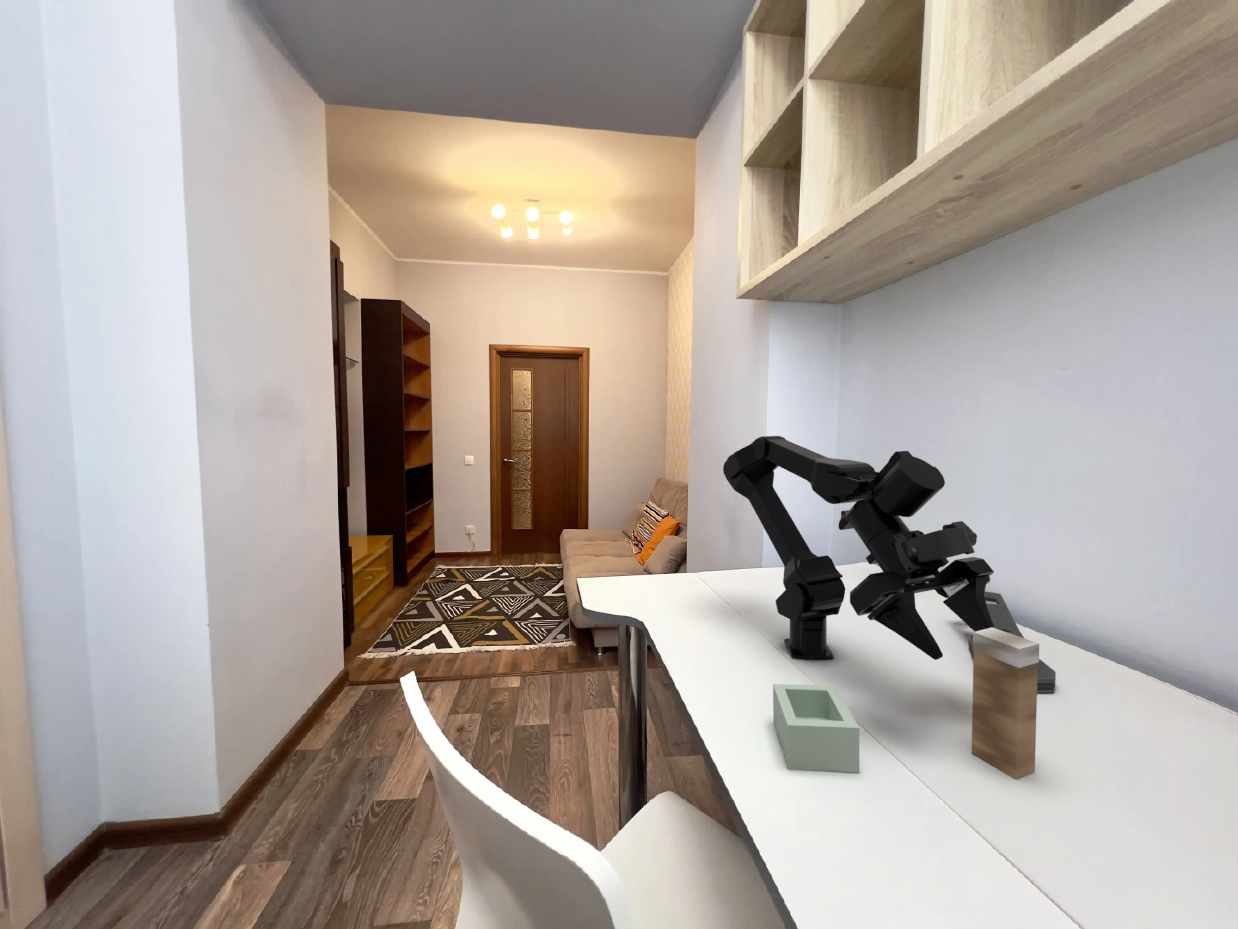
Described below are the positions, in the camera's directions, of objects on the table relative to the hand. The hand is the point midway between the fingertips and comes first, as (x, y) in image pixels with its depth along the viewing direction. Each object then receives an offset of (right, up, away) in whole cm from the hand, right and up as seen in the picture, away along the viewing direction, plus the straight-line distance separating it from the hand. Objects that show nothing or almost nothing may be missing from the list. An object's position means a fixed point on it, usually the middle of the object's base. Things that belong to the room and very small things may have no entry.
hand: (968, 650), depth 58 cm
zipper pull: (+20, -9, +23) cm, 31 cm away
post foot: (-17, -11, +1) cm, 21 cm away
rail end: (+2, -11, -3) cm, 12 cm away
